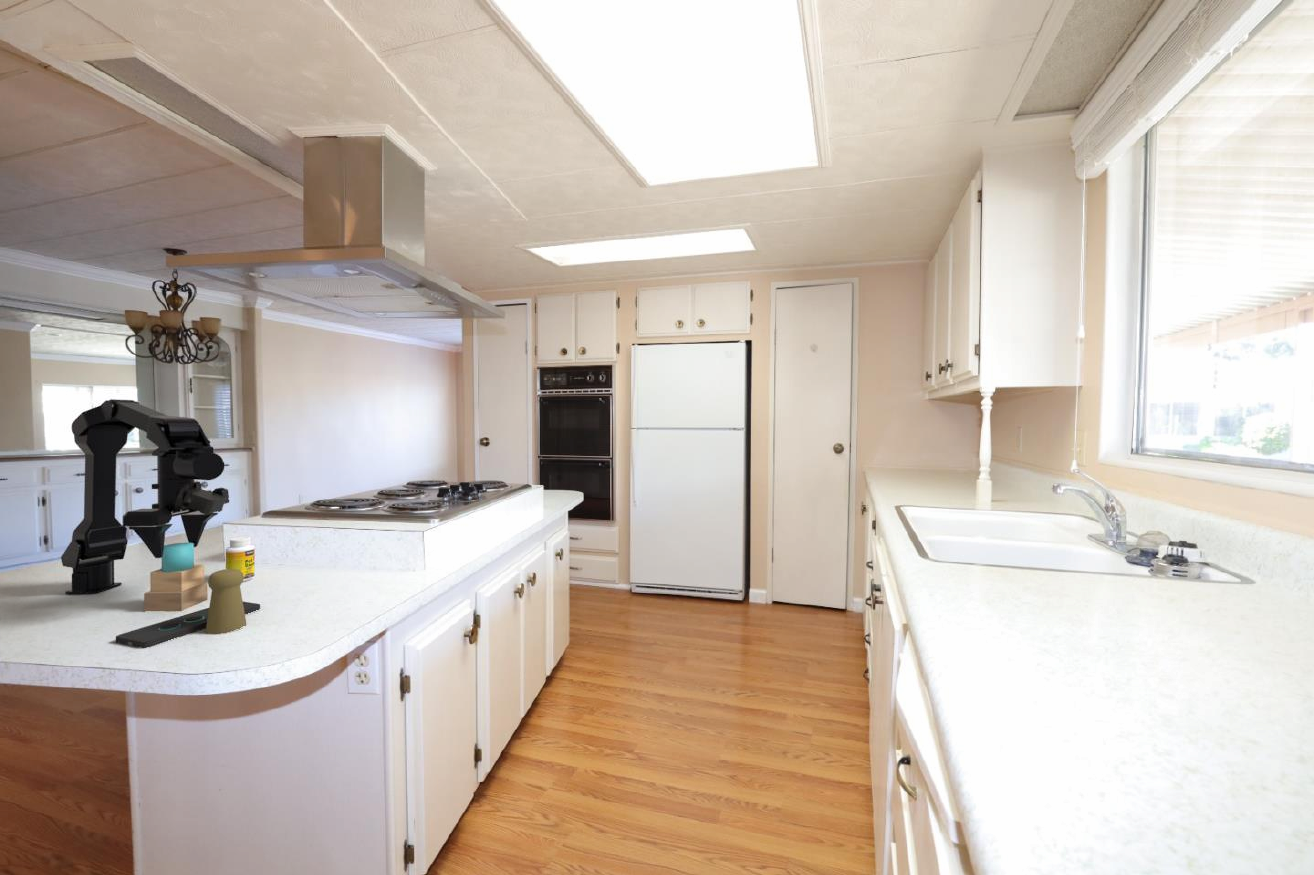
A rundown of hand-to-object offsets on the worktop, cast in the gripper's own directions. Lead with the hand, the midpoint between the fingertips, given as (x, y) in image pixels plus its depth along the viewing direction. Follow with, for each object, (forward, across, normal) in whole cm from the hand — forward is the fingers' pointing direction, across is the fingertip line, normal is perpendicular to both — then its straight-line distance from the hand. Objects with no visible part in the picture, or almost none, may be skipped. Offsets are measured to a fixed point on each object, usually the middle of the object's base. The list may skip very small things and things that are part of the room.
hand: (177, 552), depth 110 cm
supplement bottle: (+12, +18, -1) cm, 21 cm away
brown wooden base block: (+12, 0, 0) cm, 12 cm away
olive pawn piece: (+12, -13, -18) cm, 25 cm away
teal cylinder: (+4, 0, 0) cm, 4 cm away
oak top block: (+8, +1, 0) cm, 8 cm away
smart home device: (+12, -11, -11) cm, 19 cm away
